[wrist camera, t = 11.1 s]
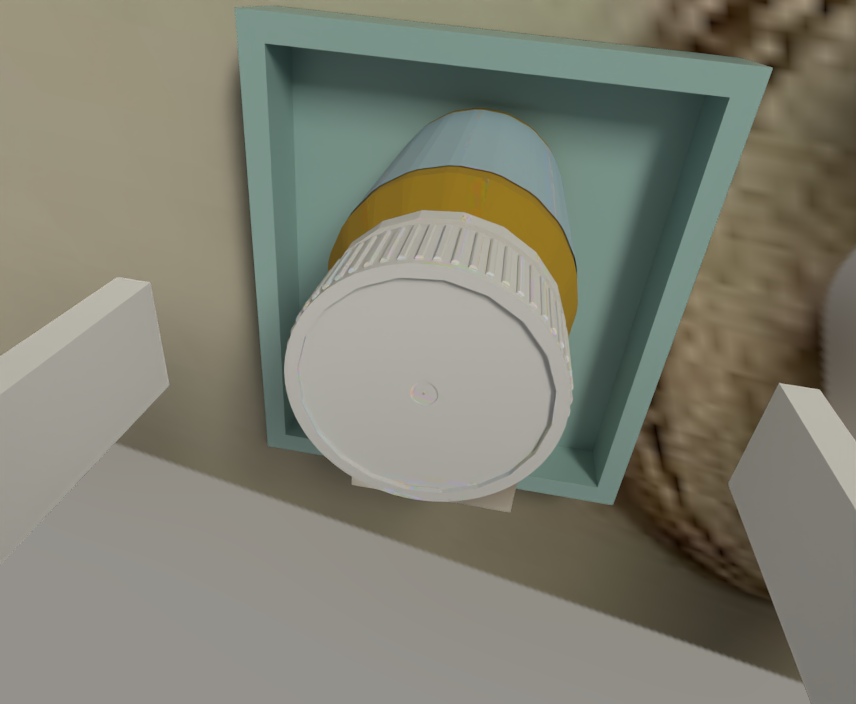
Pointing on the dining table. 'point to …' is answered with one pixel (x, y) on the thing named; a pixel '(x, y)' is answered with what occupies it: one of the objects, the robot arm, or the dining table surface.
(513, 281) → the bottle
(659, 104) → the tote
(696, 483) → the dining table surface
